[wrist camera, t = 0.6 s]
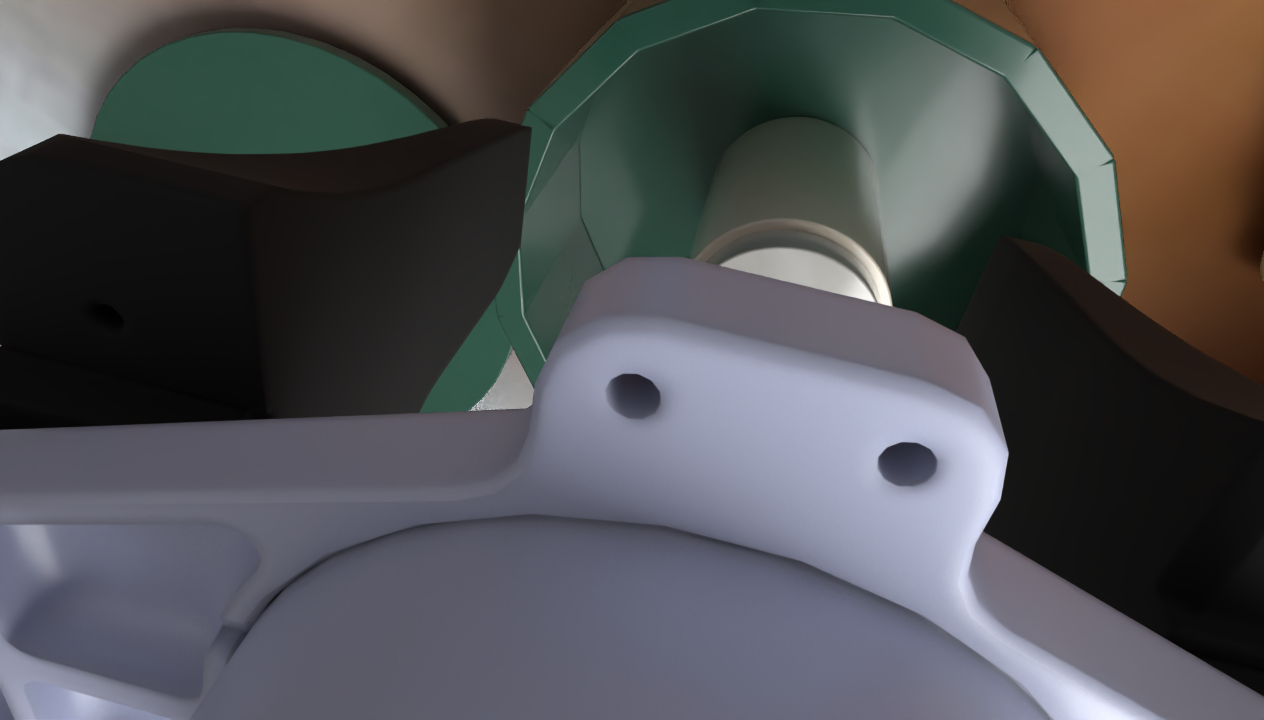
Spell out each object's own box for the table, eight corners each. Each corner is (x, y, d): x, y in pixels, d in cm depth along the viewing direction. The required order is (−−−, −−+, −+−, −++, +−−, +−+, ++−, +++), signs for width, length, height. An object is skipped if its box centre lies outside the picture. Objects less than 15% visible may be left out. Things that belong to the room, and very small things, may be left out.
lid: (537, 447, 30) (485, 566, 26) (179, 396, 32) (72, 498, 28) (515, 39, 23) (435, 107, 18) (46, 5, 25) (-134, 58, 20)
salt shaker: (863, 279, 24) (873, 438, 18) (705, 262, 25) (666, 410, 19) (894, 123, 21) (916, 250, 16) (716, 109, 22) (676, 225, 16)
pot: (984, 413, 26) (1019, 560, 21) (565, 359, 28) (508, 483, 23) (1135, -63, 19) (1241, -4, 14) (553, -92, 21) (466, -50, 16)
